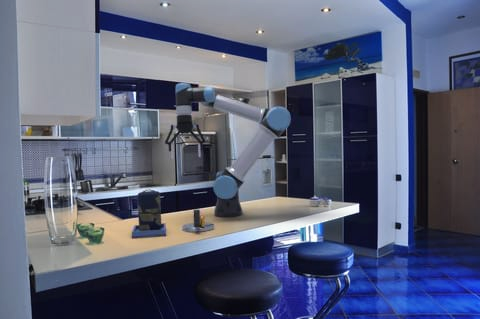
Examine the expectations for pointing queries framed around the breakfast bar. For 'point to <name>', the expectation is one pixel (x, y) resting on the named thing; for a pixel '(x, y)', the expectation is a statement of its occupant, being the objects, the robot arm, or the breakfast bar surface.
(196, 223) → the crank
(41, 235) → the breakfast bar surface
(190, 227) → the crank base
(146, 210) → the canister
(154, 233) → the tray
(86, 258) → the breakfast bar surface
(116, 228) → the breakfast bar surface
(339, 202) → the breakfast bar surface
